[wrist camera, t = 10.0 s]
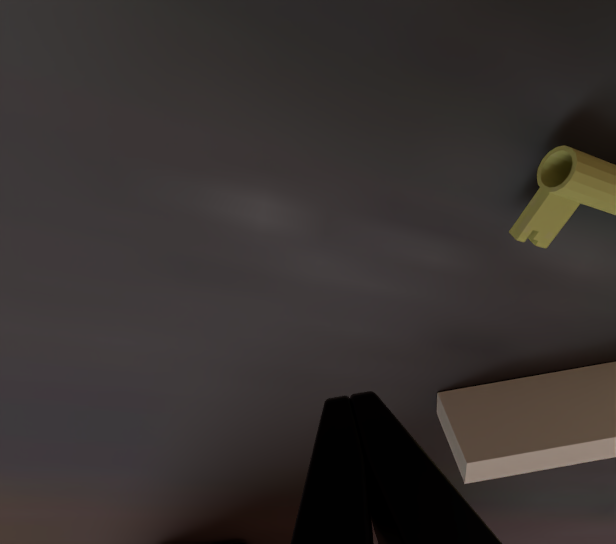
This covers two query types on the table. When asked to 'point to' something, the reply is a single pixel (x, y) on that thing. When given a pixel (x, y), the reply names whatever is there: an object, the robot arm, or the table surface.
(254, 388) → the table surface
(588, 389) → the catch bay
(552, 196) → the key
